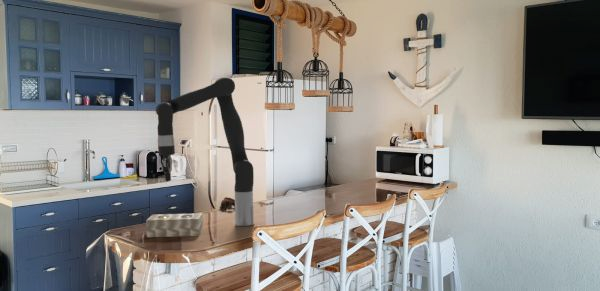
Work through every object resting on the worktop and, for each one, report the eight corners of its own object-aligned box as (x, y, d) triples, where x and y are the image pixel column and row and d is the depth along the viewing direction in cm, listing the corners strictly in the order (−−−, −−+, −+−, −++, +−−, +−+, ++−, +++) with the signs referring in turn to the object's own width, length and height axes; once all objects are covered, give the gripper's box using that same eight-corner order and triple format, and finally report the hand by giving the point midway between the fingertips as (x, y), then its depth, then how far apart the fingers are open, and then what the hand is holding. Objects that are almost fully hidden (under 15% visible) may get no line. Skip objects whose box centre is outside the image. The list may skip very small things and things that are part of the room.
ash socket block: (202, 229, 235) (202, 213, 234) (199, 235, 223) (198, 218, 222) (153, 230, 234) (152, 214, 233) (146, 237, 222) (146, 220, 221)
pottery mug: (216, 210, 283) (220, 197, 286) (230, 215, 286) (234, 202, 289) (223, 208, 272) (228, 194, 275) (238, 214, 276) (242, 200, 279)
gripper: (171, 145, 220) (173, 182, 222) (176, 143, 233) (178, 178, 235) (154, 146, 220) (157, 183, 221) (161, 144, 233) (163, 179, 234)
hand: (168, 180), depth 228 cm, fingers closed
